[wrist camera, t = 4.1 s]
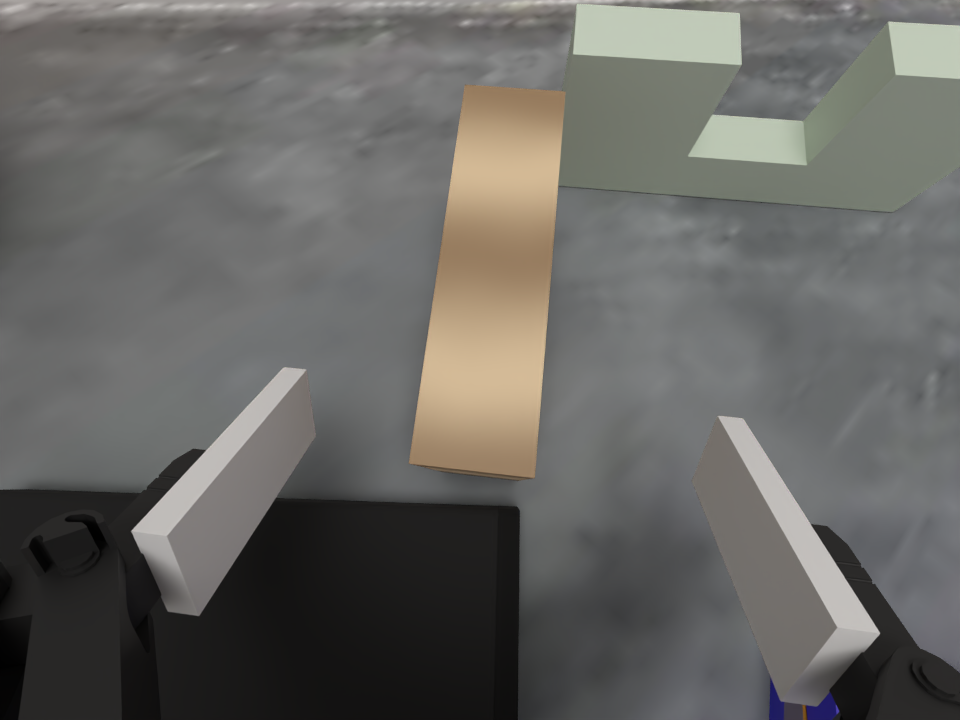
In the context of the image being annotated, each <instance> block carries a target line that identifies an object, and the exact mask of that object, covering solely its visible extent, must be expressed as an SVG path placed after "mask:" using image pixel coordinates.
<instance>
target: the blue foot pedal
mask: <svg viewBox="0 0 960 720" xmlns="http://www.w3.org/2000/svg"><path fill="white" fill-rule="evenodd" d="M838 712H839V709H838V707H837V705H836V703H835V701H834V699H833V697H832V695H831V693H830V692H829V694H828V695H827V696H826V697H825V698H824V699H823V701H822V702H821V703H820V704H819V705H818V706H817V707H816V706H809V705H802V704H795V703H788V702H782V701H780V699H779V696H778V694H777V692H776V689H775V687H774V684H773V682H772V679H771V683H770V713H769V720H832V719H833V718H834V717H835V716H836V715H837V714H838Z"/></svg>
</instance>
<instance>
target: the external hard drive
mask: <svg viewBox="0 0 960 720" xmlns="http://www.w3.org/2000/svg"><path fill="white" fill-rule="evenodd" d="M140 494H141V493H114V492H85V491H57V490H29V489H24V490H0V560H1V562H2V563H3V565H4V566H5V567H7V566H14V565H21V564H28V561H27V560H26V558H25V557H24V555H23V554H22V552H21V550H20V549H21V546H22V544H23V542H24V540H25V539H26V538H27V537H28V536H29V535H30V534H31V533H32V532H33V531H34V530H35V529H36V528H37V527H39V526H40V525H42V524H44V523H45V522H47V521H48V520H50V519H52V518H55V517H57V516H59V515H62V514H64V513H67V512H72V511H77V510H95V511H97V512H99V513H101V514H102V515H103V517H104V519H105V521H106V523H107V525H108V526H109V525H110V524H111V523H112V522H113V521H114V520H115V519H116V518H117V517H118V516H119V515H120V514H121V513H122V512H123V511H124V510H125V509H126V508H127V507H128V506H129V505H130V504H131V503H132V502H133V501H134V500H135V499H136V498H137V497H138V496H139V495H140ZM519 531H520V511H519V509H518V508H517V507H509V506H481V505H453V504H424V503H396V502H368V501H340V500H311V499H283V498H275V500H274V501H273V503H272V504H271V506H270V508H269V509H268V511H267V512H266V514H265V515H264V517H263V518H262V520H261V521H260V523H259V525H258V526H257V528H256V529H255V531H254V532H253V534H252V535H251V537H250V538H249V540H248V541H247V543H246V545H245V546H244V548H243V549H242V551H241V552H240V554H239V555H238V557H237V558H236V560H235V562H234V563H233V565H232V566H231V568H230V569H229V571H228V572H227V574H226V575H225V577H224V578H223V580H222V582H221V583H220V585H219V586H218V588H217V589H216V591H215V592H214V594H213V595H212V597H211V599H210V600H209V602H208V603H207V605H206V606H205V608H204V609H203V611H202V612H201V614H200V615H199V616H195V615H188V614H181V613H175V612H168V611H167V609H166V606H165V604H164V602H163V600H162V598H161V597H160V598H159V599H158V601H157V602H156V603H155V605H154V606H153V607H152V609H151V610H150V614H151V616H152V618H153V626H154V638H155V650H156V662H157V674H158V686H159V698H160V710H161V720H518V630H519Z"/></svg>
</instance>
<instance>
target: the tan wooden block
mask: <svg viewBox="0 0 960 720" xmlns="http://www.w3.org/2000/svg"><path fill="white" fill-rule="evenodd" d="M565 93H566V92H564V91H549V90H535V89H520V88H505V87H491V86H476V85H465V88H464V95H463V101H462V108H461V115H460V122H459V128H458V135H457V142H456V149H455V155H454V162H453V169H452V176H451V182H450V189H449V196H448V203H447V209H446V216H445V223H444V230H443V236H442V243H441V250H440V257H439V263H438V270H437V277H436V284H435V290H434V297H433V304H432V311H431V317H430V324H429V331H428V338H427V344H426V351H425V358H424V365H423V371H422V378H421V385H420V392H419V398H418V405H417V412H416V419H415V425H414V432H413V439H412V445H411V452H410V459H409V464H413V465H417V466H421V467H425V468H429V469H433V470H437V471H441V472H448V473H456V474H465V475H474V476H482V477H491V478H500V479H508V480H517V481H519V480H525V479H532V478H535V467H536V455H537V442H538V430H539V417H540V405H541V392H542V380H543V367H544V355H545V342H546V330H547V317H548V305H549V292H550V280H551V268H552V255H553V243H554V230H555V218H556V205H557V193H558V180H559V168H560V155H561V143H562V130H563V118H564V105H565Z"/></svg>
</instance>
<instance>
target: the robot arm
mask: <svg viewBox="0 0 960 720" xmlns="http://www.w3.org/2000/svg"><path fill="white" fill-rule="evenodd" d="M315 437H316V432H315V425H314V418H313V411H312V404H311V397H310V390H309V383H308V377H307V370H304V369H295V368H286V367H284V368H283V369H282V370H281V371H280V372H279V373H278V374H277V375H276V376H275V377H274V378H273V379H272V380H271V382H270V383H269V384H268V385H267V386H266V387H265V388H264V389H263V390H262V391H261V392H260V393H259V394H258V396H257V397H256V398H255V399H254V400H253V401H252V402H251V403H250V404H249V405H248V406H247V407H246V408H245V409H244V411H243V412H242V413H241V414H240V415H239V416H238V417H237V418H236V419H235V420H234V421H233V422H232V423H231V424H230V426H229V427H228V428H227V429H226V430H225V431H224V432H223V433H222V434H221V435H220V436H219V437H218V438H217V440H216V441H215V442H214V443H213V444H212V445H211V446H210V447H209V448H208V449H207V450H199V449H192V450H190V451H189V452H187V453H185V454H184V455H182V456H180V457H179V458H177V459H175V460H174V461H173V462H172V463H171V464H170V465H169V466H168V467H167V468H166V469H165V470H164V471H163V472H162V473H161V474H160V475H159V478H156V479H155V480H154V481H153V482H152V483H151V484H150V485H149V486H148V487H147V490H144V491H143V492H142V493H141V494H140V495H139V496H138V497H137V498H136V499H135V500H134V501H133V502H132V503H131V504H130V505H129V506H128V507H127V508H126V509H125V510H124V511H123V512H122V513H121V514H120V515H119V516H118V517H117V518H116V519H115V520H114V521H113V522H112V523H111V524H110V525H109V526H108V525H107V523H106V521H105V519H104V517H103V515H102V514H101V513H99V512H97V511H95V510H77V511H72V512H67V513H64V514H62V515H59V516H57V517H55V518H52V519H50V520H48V521H47V522H45V523H44V524H42V525H40V526H39V527H37V528H36V529H35V530H34V531H33V532H32V533H31V534H30V535H29V536H28V537H27V538H26V539H25V540H24V542H23V544H22V546H21V549H20V550H21V552H22V554H23V555H24V557H25V558H26V560H27V561H28V564H21V565H14V566H7V567H5V566H4V565H3V563H2V562H1V560H0V720H161V710H160V698H159V686H158V674H157V662H156V650H155V638H154V626H153V618H152V616H151V614H150V610H151V609H152V607H153V606H154V605H155V603H156V602H157V601H158V599H159V598H160V597H161V598H162V600H163V602H164V604H165V606H166V609H167V611H168V612H175V613H181V614H188V615H195V616H199V615H200V614H201V612H202V611H203V609H204V608H205V606H206V605H207V603H208V602H209V600H210V599H211V597H212V595H213V594H214V592H215V591H216V589H217V588H218V586H219V585H220V583H221V582H222V580H223V578H224V577H225V575H226V574H227V572H228V571H229V569H230V568H231V566H232V565H233V563H234V562H235V560H236V558H237V557H238V555H239V554H240V552H241V551H242V549H243V548H244V546H245V545H246V543H247V541H248V540H249V538H250V537H251V535H252V534H253V532H254V531H255V529H256V528H257V526H258V525H259V523H260V521H261V520H262V518H263V517H264V515H265V514H266V512H267V511H268V509H269V508H270V506H271V504H272V503H273V501H274V500H275V498H276V497H277V495H278V494H279V492H280V491H281V489H282V488H283V486H284V484H285V483H286V481H287V480H288V478H289V477H290V475H291V474H292V472H293V471H294V469H295V468H296V466H297V464H298V463H299V461H300V460H301V458H302V457H303V455H304V454H305V452H306V451H307V449H308V447H309V446H310V444H311V443H312V441H313V440H314V438H315ZM692 483H693V485H694V488H695V490H696V493H697V495H698V498H699V500H700V503H701V505H702V508H703V510H704V513H705V515H706V518H707V520H708V523H709V525H710V528H711V530H712V533H713V535H714V538H715V540H716V543H717V545H718V547H719V550H720V552H721V555H722V557H723V560H724V562H725V565H726V567H727V570H728V572H729V575H730V577H731V580H732V582H733V585H734V587H735V590H736V592H737V595H738V597H739V600H740V602H741V605H742V607H743V610H744V612H745V615H746V617H747V620H748V622H749V624H750V627H751V629H752V632H753V634H754V637H755V639H756V642H757V644H758V647H759V649H760V652H761V654H762V657H763V659H764V662H765V664H766V667H767V669H768V672H769V674H770V677H771V679H772V682H773V684H774V687H775V689H776V692H777V694H778V696H779V699H780V701H782V702H788V703H795V704H802V705H809V706H816V707H817V706H818V705H819V704H820V703H821V702H822V701H823V699H824V698H825V697H826V696H827V695H828V694H829V692H830V693H831V695H832V697H833V699H834V701H835V703H836V705H837V707H838V709H839V712H838V714H837V715H836V716H835V717H834V718H833V719H832V720H960V673H959V672H958V671H957V670H956V669H954V668H953V667H952V666H950V665H949V664H947V663H946V662H945V661H943V660H942V659H941V658H939V657H937V656H935V655H933V654H931V653H929V652H927V651H925V650H923V649H920V648H919V647H918V646H917V644H916V643H915V641H914V640H913V638H912V637H911V636H910V634H909V633H908V631H907V630H906V628H905V627H904V625H903V624H902V623H901V621H900V620H899V618H898V617H897V615H896V614H895V612H894V611H893V610H892V608H891V607H890V605H889V604H888V602H887V601H886V599H885V598H884V597H883V595H882V594H881V592H880V591H879V589H878V588H877V587H876V585H875V584H872V579H871V578H870V576H869V575H868V574H867V572H866V571H865V569H864V568H861V563H860V562H859V561H858V559H857V558H856V556H855V555H854V553H853V552H852V550H851V549H850V548H849V546H848V545H847V544H846V543H845V542H844V541H843V540H842V539H841V538H840V537H839V536H837V535H836V534H835V533H834V532H833V531H832V530H831V529H830V528H828V527H827V526H821V525H813V524H810V523H809V521H808V519H807V518H806V516H805V515H804V513H803V512H802V510H801V508H800V507H799V505H798V504H797V502H796V501H795V499H794V498H793V496H792V494H791V493H790V491H789V490H788V488H787V487H786V485H785V483H784V482H783V480H782V479H781V477H780V476H779V474H778V473H777V471H776V469H775V468H774V466H773V465H772V463H771V462H770V460H769V458H768V457H767V455H766V454H765V452H764V451H763V449H762V447H761V446H760V444H759V443H758V441H757V440H756V438H755V437H754V435H753V433H752V432H751V430H750V429H749V427H748V426H747V424H746V422H745V421H744V419H743V418H734V417H725V416H717V419H716V421H715V424H714V426H713V429H712V431H711V434H710V436H709V439H708V441H707V444H706V446H705V449H704V451H703V454H702V456H701V459H700V462H699V464H698V467H697V469H696V472H695V474H694V477H693V479H692Z"/></svg>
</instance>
